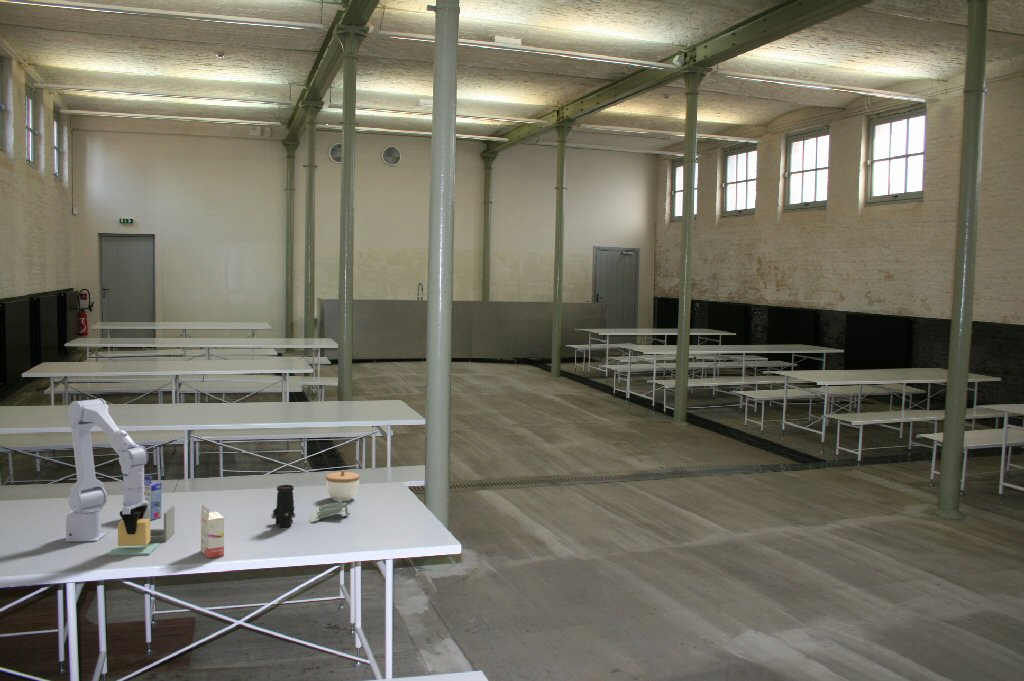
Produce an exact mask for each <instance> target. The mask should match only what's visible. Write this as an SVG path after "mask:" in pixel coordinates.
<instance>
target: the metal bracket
mask: <svg viewBox="0 0 1024 681" xmlns="http://www.w3.org/2000/svg"><path fill="white" fill-rule="evenodd" d="M343 512H344V513H345V516H346V518H348V516H350V515H351V512H349V511H348V504H347V502H344V503H343V501H341V500H340V501H336V502H335V503H327V504H324V505H320V506H319V507H318V508H317V509H314V510H313V511H312V512H311V516H310V520H309V521H310V523H309V524H312V523H315V522H318V521H319V520H321V519H324V518H328V517H331V516H333V515H337V514H341V513H343Z"/></svg>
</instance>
